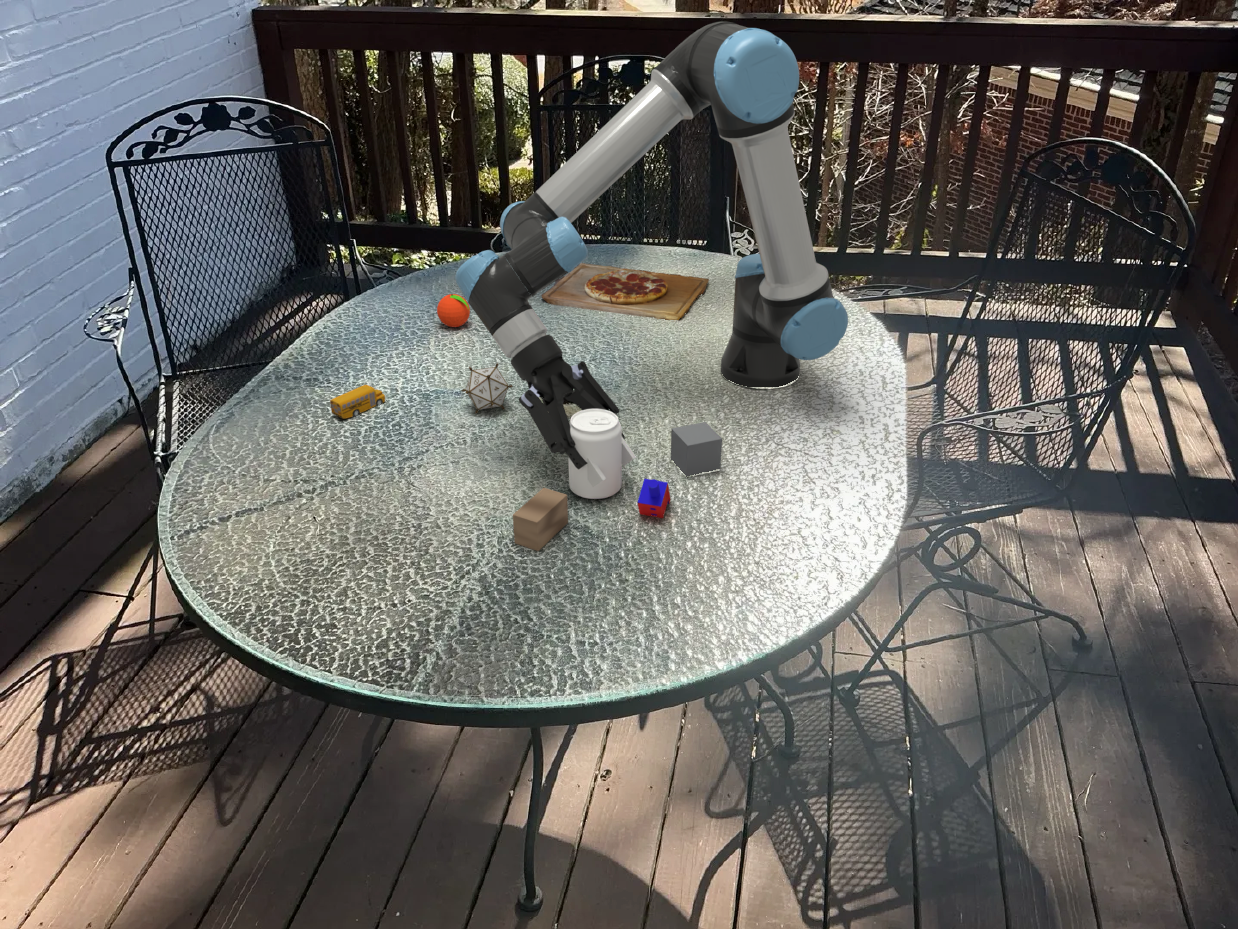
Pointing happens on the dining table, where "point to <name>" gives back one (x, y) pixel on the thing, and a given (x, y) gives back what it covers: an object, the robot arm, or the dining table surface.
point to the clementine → (453, 310)
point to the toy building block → (653, 498)
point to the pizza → (626, 291)
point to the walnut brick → (540, 519)
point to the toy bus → (356, 401)
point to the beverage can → (596, 452)
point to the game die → (486, 388)
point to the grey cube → (696, 448)
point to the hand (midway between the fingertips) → (614, 471)
